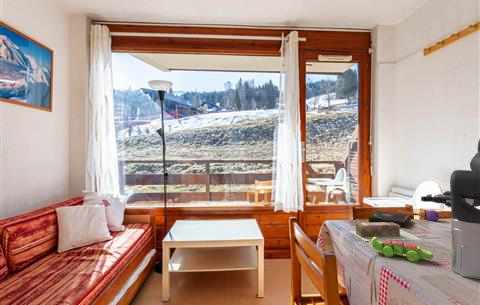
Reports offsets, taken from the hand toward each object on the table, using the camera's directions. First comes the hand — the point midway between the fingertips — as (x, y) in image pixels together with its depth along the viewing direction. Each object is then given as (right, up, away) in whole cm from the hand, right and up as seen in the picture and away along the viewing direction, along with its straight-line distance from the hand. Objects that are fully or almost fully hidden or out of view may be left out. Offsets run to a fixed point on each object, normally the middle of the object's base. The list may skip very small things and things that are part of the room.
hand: (422, 199), depth 122 cm
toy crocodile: (-25, -18, -24) cm, 38 cm away
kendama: (+18, -17, +29) cm, 38 cm away
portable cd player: (-3, -17, +21) cm, 27 cm away
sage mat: (-18, -17, -1) cm, 25 cm away
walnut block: (-12, -14, 0) cm, 19 cm away
